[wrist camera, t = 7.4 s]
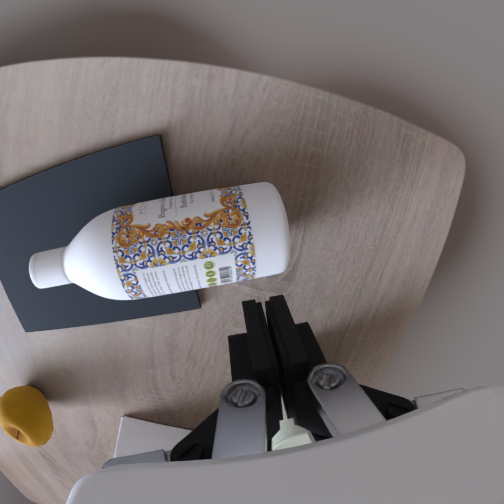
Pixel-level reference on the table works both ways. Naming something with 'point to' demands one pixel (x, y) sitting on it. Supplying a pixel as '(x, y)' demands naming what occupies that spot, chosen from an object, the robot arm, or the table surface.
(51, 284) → the bath foam
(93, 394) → the table surface
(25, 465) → the table surface
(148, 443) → the gable box
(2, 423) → the apple
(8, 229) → the mat
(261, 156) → the table surface
